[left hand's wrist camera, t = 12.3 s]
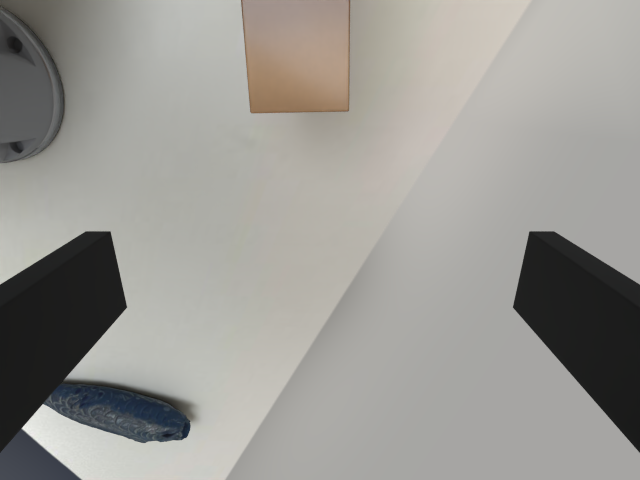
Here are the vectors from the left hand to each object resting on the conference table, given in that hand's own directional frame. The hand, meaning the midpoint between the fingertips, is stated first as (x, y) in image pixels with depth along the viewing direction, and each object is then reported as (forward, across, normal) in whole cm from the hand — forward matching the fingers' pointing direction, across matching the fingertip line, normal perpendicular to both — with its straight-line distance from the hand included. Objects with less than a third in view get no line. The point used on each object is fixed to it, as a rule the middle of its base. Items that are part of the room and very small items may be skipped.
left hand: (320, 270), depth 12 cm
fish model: (+30, +28, +35) cm, 54 cm away
